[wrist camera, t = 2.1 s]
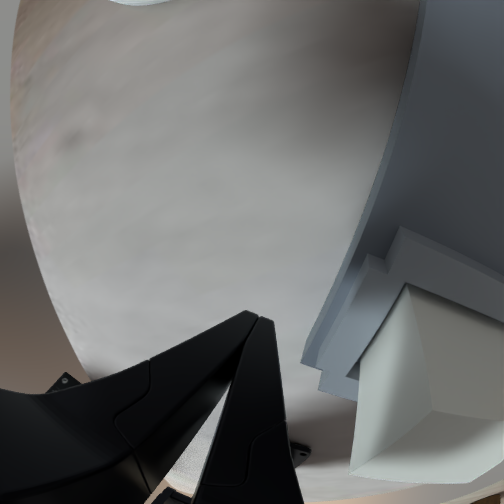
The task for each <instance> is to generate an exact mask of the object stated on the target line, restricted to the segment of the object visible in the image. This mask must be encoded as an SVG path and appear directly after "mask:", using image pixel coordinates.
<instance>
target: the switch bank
mask: <svg viewBox="0 0 504 504" xmlns="http://www.w3.org/2000/svg"><path fill="white" fill-rule="evenodd" d="M405 283H409V284H411V285H414V286H416V287H419V288H421V289H424V290H426V291H429V292H431V293H434V294H436V295H439V296H441V297H443V298H446V299H448V300H451V301H453V302H456V303H458V304H460V305H463V306H465V307H467V308H470V309H472V310H475V311H477V312H479V313H482V314H484V315H486V316H489V317H491V318H493V319H496V320H498V321H500V322H502V323H504V0H420V5H419V11H418V18H417V24H416V29H415V35H414V40H413V45H412V50H411V55H410V59H409V64H408V68H407V73H406V77H405V81H404V85H403V89H402V93H401V97H400V101H399V104H398V108H397V112H396V115H395V119H394V122H393V126H392V129H391V132H390V136H389V139H388V142H387V145H386V149H385V152H384V155H383V158H382V161H381V164H380V167H379V170H378V173H377V176H376V179H375V182H374V184H373V187H372V190H371V193H370V196H369V198H368V201H367V204H366V206H365V209H364V212H363V214H362V217H361V219H360V222H359V225H358V227H357V230H356V232H355V235H354V237H353V240H352V242H351V244H350V247H349V249H348V252H347V254H346V256H345V259H344V261H343V263H342V266H341V268H340V270H339V273H338V275H337V277H336V279H335V282H334V284H333V286H332V288H331V290H330V293H329V295H328V297H327V299H326V301H325V303H324V305H323V308H322V310H321V312H320V314H319V316H318V318H317V320H316V322H315V324H314V326H313V328H312V330H311V332H310V334H309V336H308V338H307V340H306V344H305V348H304V351H303V355H302V359H301V362H300V363H302V364H304V365H307V366H310V367H313V368H316V369H319V370H322V373H321V378H320V383H319V388H318V390H319V391H322V392H326V393H329V394H332V395H335V396H339V397H342V398H345V399H349V400H352V401H356V402H358V392H359V378H360V359H361V355H362V354H363V352H364V351H365V349H366V348H367V346H368V345H369V343H370V342H371V340H372V339H373V337H374V336H375V334H376V332H377V331H378V329H379V328H380V326H381V325H382V323H383V321H384V320H385V318H386V316H387V315H388V313H389V311H390V310H391V308H392V306H393V305H394V303H395V301H396V299H397V298H398V296H399V294H400V292H401V291H402V289H403V287H404V285H405Z"/></svg>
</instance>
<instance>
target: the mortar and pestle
mask: <svg viewBox="0 0 504 504" xmlns="http://www.w3.org/2000/svg"><path fill="white" fill-rule="evenodd" d="M471 504H500V495H493V496H489V497H487V498H484V499H481V500H479V501H476V502H474V503H471Z"/></svg>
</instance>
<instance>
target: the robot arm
mask: <svg viewBox="0 0 504 504" xmlns="http://www.w3.org/2000/svg"><path fill="white" fill-rule="evenodd" d="M230 384H231V385H230ZM229 385H230V388H229V391H228V394H227V397H226V400H225V403H224V406H223V409H222V412H221V415H220V418H219V421H218V424H217V427H216V430H215V433H214V437H213V440H212V443H211V446H210V449H209V451H208V454H207V457H206V460H205V463H204V466H203V469H202V472H201V475H200V478H199V481H198V484H197V487H196V490H195V493H194V494H193V496H192V498H190V497H188V496H185V495H183V494H181V493H179V492H176V490H175V489H172V488H170V487H167V488H166V489H164V490H163V492H162V493H160V494H159V495H158V496H157V497H156V499H155V500H154V501H153V502H152V503H151V504H304V501H303V497H302V494H301V490H300V486H299V483H298V479H297V476H296V472H295V468H296V467H297V466H299V465H300V464H301V463H302V462H304V461H305V460H306V459H307V458H308V457H309V456H310V454H311V449H310V448H307V447H304V446H301V445H297V444H294V443H291V442H289V436H288V428H287V422H286V421H285V420H286V413H285V404H284V396H283V388H282V380H281V372H280V364H279V356H278V349H277V341H276V333H275V325H274V321H273V320H270V319H268V318H265V317H263V316H260V317H259V316H258V315H257V314H255V313H252V312H250V311H247V310H245V311H242V312H241V313H239V314H237V315H235V316H233V317H231V318H229V319H227V320H225V321H224V322H222V323H220V324H218V325H216V326H214V327H212V328H210V329H208V330H206V331H204V332H202V333H200V334H198V335H196V336H194V337H193V338H191V339H189V340H187V341H185V342H183V343H181V344H179V345H177V346H174V347H172V348H170V349H168V350H166V351H164V352H162V353H160V354H158V355H156V356H154V357H152V358H150V359H149V360H145V361H143V362H141V363H139V364H137V365H135V366H132V367H130V368H128V369H125V370H123V371H121V372H118V373H115V374H112V375H110V376H107V377H104V378H101V379H98V380H94V381H91V382H88V383H84V384H81V385H77V386H74V387H70V388H67V389H63V390H59V391H55V392H51V393H45V394H24V393H19V392H14V391H9V390H5V389H0V504H144V503H145V501H146V500H147V499H148V498H149V496H150V494H152V492H153V491H154V490H155V489H156V487H157V486H158V485H159V484H160V482H161V481H162V480H163V478H164V477H165V476H166V474H167V473H168V472H169V470H170V469H171V468H172V467H173V465H174V464H175V463H176V461H177V460H178V458H179V457H180V456H181V454H182V453H183V452H184V450H185V449H186V448H187V446H188V445H189V443H190V442H191V441H192V439H193V438H194V437H195V435H196V434H197V432H198V431H199V429H200V428H201V427H202V425H203V424H204V422H205V421H206V420H207V418H208V417H209V415H210V414H211V412H212V411H213V409H214V408H215V407H216V405H217V404H218V402H219V401H220V399H221V398H222V396H223V395H224V393H225V392H226V390H227V389H228V387H229Z"/></svg>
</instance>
